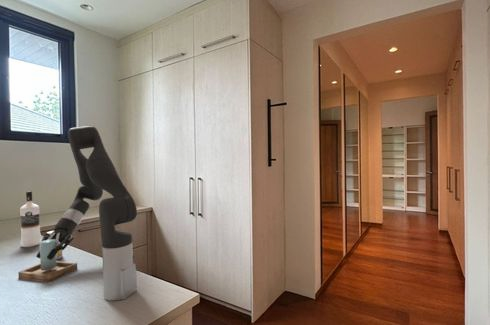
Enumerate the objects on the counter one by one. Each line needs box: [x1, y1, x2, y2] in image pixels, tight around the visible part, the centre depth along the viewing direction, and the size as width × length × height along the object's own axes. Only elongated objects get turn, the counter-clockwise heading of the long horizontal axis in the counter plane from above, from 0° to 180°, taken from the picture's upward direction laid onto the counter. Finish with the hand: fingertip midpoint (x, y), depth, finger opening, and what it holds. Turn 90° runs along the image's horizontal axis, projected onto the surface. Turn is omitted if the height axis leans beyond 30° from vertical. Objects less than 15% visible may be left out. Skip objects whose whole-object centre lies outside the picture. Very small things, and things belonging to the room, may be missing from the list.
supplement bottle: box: [46, 230, 63, 261], centre depth 122 cm, size 7×7×13 cm
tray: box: [18, 260, 78, 283], centre depth 106 cm, size 16×12×2 cm
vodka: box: [19, 190, 43, 248], centre depth 143 cm, size 9×9×30 cm
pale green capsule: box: [39, 239, 57, 271], centre depth 105 cm, size 5×5×11 cm
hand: (43, 258), depth 104 cm, fingers closed on pale green capsule, 5 cm apart
